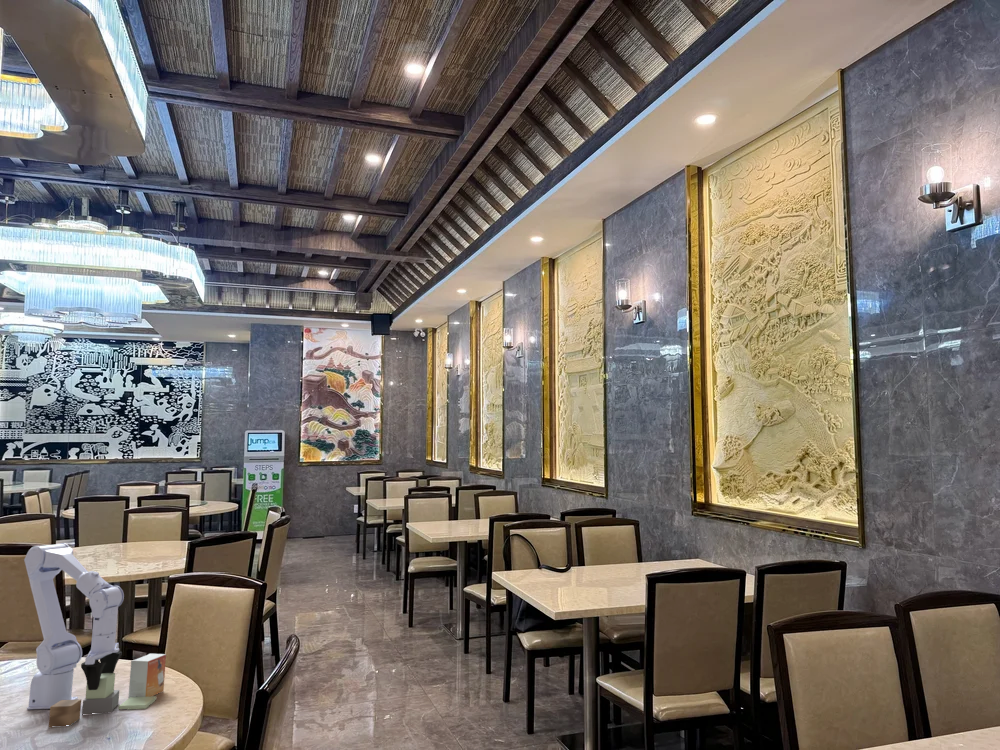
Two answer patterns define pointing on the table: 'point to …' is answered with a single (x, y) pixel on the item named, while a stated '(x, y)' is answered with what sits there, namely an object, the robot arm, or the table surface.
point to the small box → (147, 675)
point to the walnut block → (64, 712)
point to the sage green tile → (137, 702)
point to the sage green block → (102, 687)
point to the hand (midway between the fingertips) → (100, 685)
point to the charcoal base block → (101, 704)
